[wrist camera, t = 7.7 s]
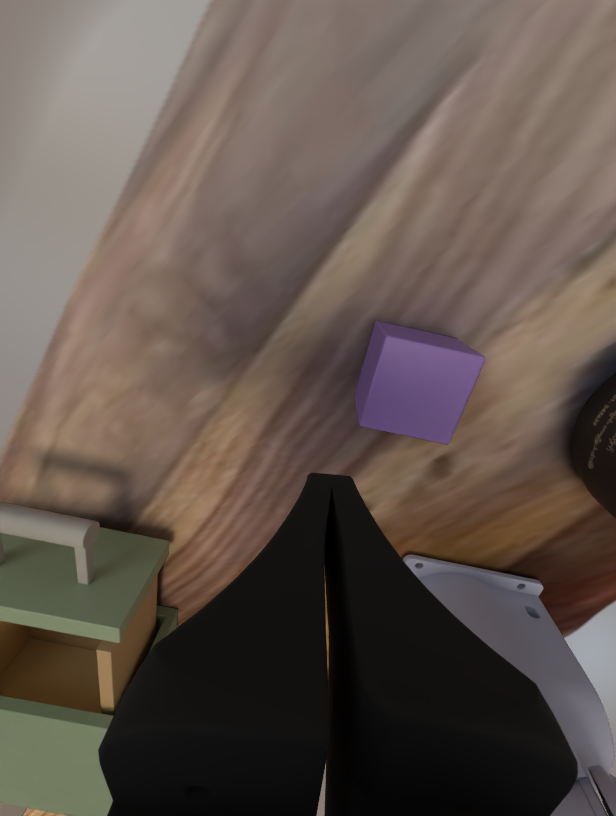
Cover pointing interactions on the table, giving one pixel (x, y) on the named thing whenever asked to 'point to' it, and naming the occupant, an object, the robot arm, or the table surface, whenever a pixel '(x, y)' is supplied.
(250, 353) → the table surface
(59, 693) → the drawer
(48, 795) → the cabinet
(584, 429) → the jar
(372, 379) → the cube
